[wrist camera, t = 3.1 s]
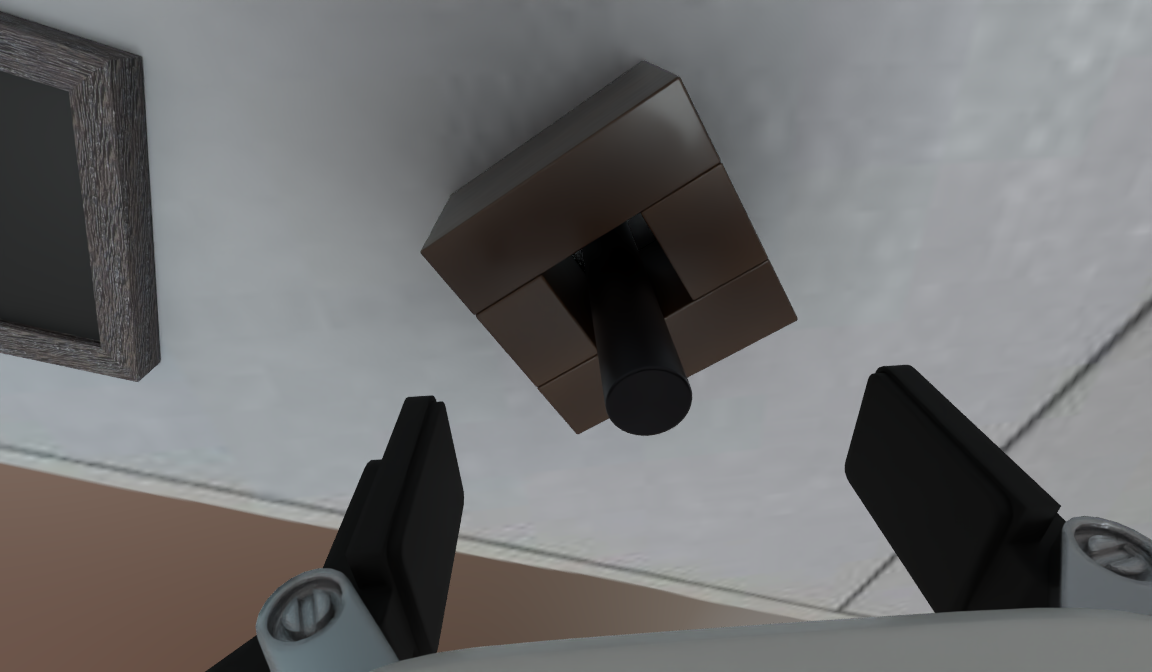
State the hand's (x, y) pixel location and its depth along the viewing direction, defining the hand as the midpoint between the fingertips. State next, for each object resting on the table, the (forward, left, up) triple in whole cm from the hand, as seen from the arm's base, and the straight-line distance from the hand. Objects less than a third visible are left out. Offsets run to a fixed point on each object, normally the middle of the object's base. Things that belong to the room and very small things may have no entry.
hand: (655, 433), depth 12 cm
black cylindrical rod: (0, 0, -13) cm, 13 cm away
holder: (0, 0, -13) cm, 13 cm away
